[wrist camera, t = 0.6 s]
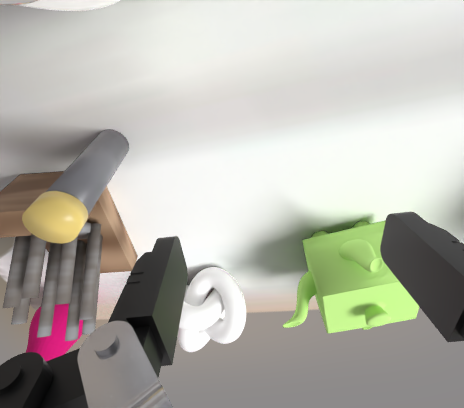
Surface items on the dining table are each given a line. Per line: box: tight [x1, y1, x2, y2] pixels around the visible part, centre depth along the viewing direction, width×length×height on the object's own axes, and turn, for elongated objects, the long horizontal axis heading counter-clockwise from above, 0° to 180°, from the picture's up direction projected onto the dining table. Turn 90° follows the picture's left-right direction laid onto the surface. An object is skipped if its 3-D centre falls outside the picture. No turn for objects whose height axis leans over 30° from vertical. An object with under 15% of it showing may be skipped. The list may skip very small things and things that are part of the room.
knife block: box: [0, 172, 137, 341], centre depth 28 cm, size 15×9×11 cm, turn 3°
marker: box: [22, 130, 129, 243], centre depth 21 cm, size 3×3×12 cm
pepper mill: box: [26, 303, 83, 361], centre depth 33 cm, size 7×7×20 cm
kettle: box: [283, 221, 419, 333], centre depth 32 cm, size 15×14×11 cm
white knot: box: [177, 267, 246, 352], centre depth 37 cm, size 11×12×9 cm
